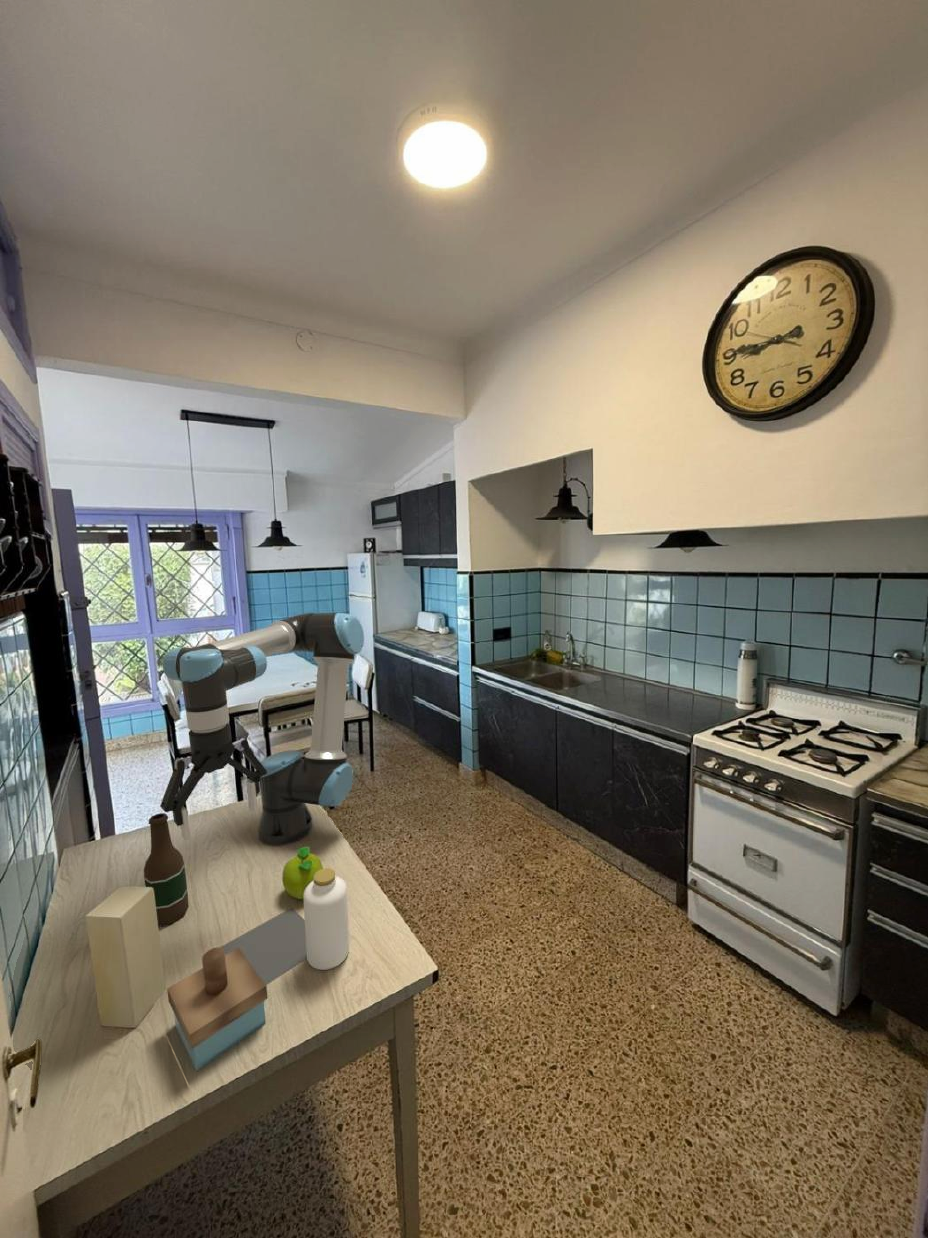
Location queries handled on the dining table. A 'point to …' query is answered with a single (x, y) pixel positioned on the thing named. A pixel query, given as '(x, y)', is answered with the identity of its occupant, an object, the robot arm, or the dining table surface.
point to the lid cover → (216, 994)
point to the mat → (273, 945)
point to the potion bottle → (326, 920)
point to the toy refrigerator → (126, 956)
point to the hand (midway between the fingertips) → (221, 822)
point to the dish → (224, 1036)
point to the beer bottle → (166, 873)
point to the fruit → (300, 872)
